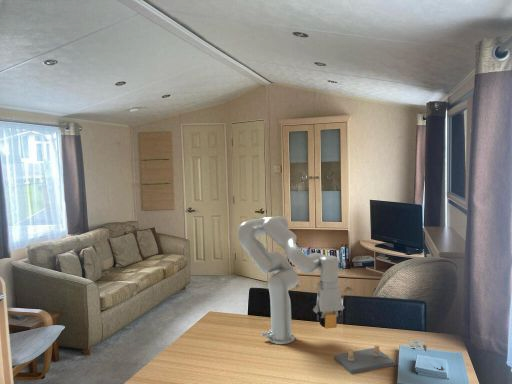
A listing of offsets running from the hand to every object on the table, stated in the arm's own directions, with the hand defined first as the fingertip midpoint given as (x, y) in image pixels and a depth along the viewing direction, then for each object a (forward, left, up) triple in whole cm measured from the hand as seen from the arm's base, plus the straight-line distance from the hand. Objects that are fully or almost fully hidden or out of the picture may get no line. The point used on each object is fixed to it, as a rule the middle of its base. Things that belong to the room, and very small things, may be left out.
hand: (328, 324), depth 178 cm
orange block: (0, 0, -1) cm, 1 cm away
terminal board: (+9, -15, -11) cm, 20 cm away
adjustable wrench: (+35, -18, -12) cm, 41 cm away
